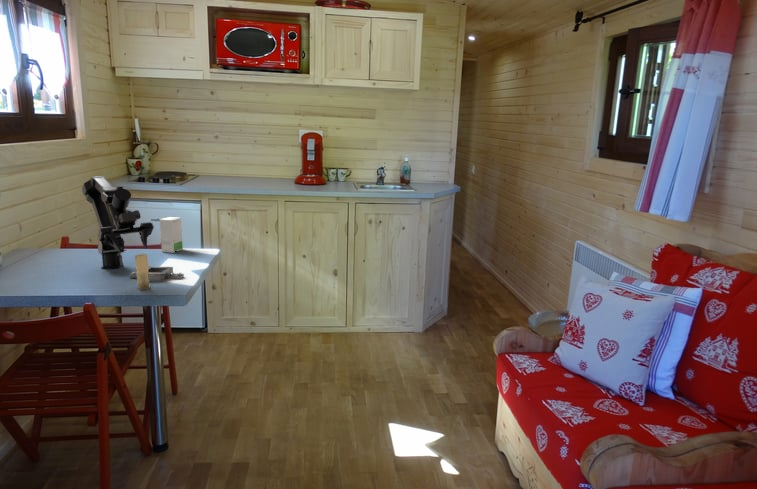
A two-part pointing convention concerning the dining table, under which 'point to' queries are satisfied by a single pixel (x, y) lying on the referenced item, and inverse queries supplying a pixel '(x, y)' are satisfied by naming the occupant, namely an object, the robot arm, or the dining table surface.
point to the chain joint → (160, 274)
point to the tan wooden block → (142, 271)
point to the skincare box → (171, 234)
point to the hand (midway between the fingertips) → (133, 249)
